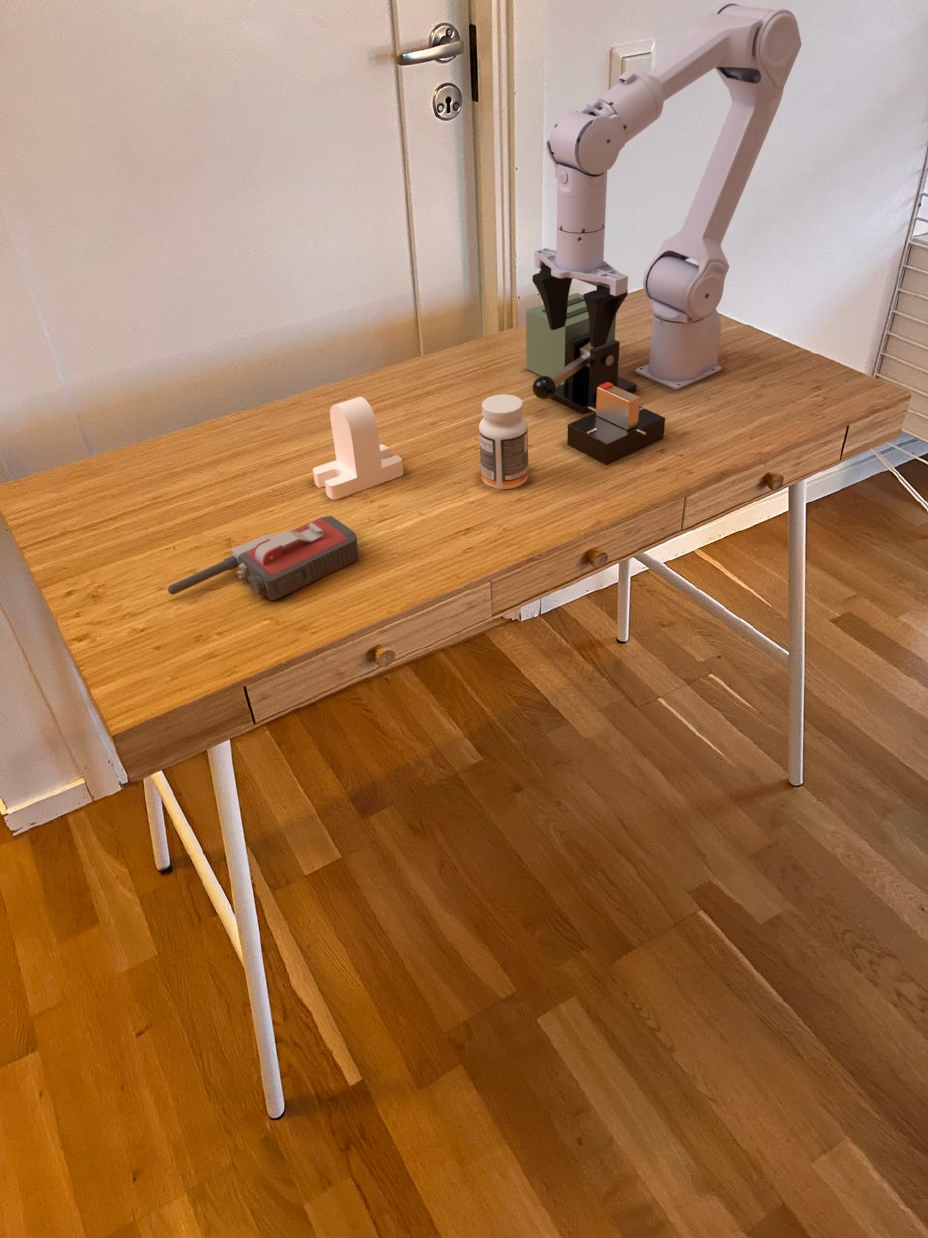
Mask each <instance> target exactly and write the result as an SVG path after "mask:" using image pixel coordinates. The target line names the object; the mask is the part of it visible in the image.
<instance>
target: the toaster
mask: <svg viewBox="0 0 928 1238" xmlns="http://www.w3.org/2000/svg"><path fill="white" fill-rule="evenodd" d="M525 314H526V315H525V316H526V317H525V320H526V321H525V322H526V325H525V328H526V329H525V330H526V333H525V335H526V341H525V342H526V370H528V371H529V372H531V373H533V374H534V375H537V376H538V377H540V376H549V377H551V376H552V375H554V374H555V373H557V372H558V371H560V370H561V369H562V368H564V367H565V366H567V365H568V364H569V340H571V339H574V338H576V337H579V336H582V335H584V334H587V333H589V332H590V328H589V315H588V310H587V306H586V303H585V300H584V298H583V294H582V293H579V292H575V293H572V294H569V296H568V305H567V318H566V323H565V326H564V327H561V328H559V329H556V330H551V329H550V326H549V322H548V318H547V314H546V310H545V307H544V304H541V305H538V306H535V307H532V308H530V309H527V310H526V311H525ZM616 323H617V314H616V315H615V317H614V320H613V323H612V325H611V328H610V331H609V335H608V338H607V341H606V343H607V342H610V341H612V340H616V325H617V324H616ZM565 383H568V378H567V379H566V380H564V381H563V382H561V383H560V384H558V385H557V386H560V385H563V384H565Z"/></svg>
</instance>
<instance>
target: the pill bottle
mask: <svg viewBox="0 0 928 1238" xmlns="http://www.w3.org/2000/svg"><path fill="white" fill-rule="evenodd" d="M481 414H482V416H483V418H481V420H480V422H479V425H478V436H479V439H478V440H479V460H480V475H481V480H482V482H483V483H484V484H485V485H486V486H488V487H490V488H492V489H497V490H510V489H516V488H519V487H520V486H522V485H524V484H525V483H526V482H527V480H528V479H529V427H528V422H527V420H526V419H525V417H524V416H523V414H524V402H523V400H522V399H521V398H520V397H519V396H516V395H513V394H508V393H507V394H503V393H502V394H495V395H492V396H488V397H487V398H485V399H484V400H483V401H482V404H481Z"/></svg>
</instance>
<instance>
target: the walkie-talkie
mask: <svg viewBox="0 0 928 1238" xmlns="http://www.w3.org/2000/svg"><path fill="white" fill-rule="evenodd" d="M230 554H231V555H230V556H228V557H225V558H224V559H223V561H221V562H219V563H215V564H213V565H212V566H209V567H207V568H205V569H203V570H201V571H199V572H196V573H194V574H192V575H190V576H188V577H185V578H182V579H181V580H179V581H177V582H175V583H172V584H170V585H168V587H167V591H168V593H169V594H170V595H173V596H174V595H176V594H178V593H181V592H182V591H185V590H188V589H189V588H191V587H195V586H196V585H198V584H200V583H203V582H205V581H207V580H210V579H211V578H213V577H216V576H218V575H220V574H222V573H224V572H226V571H229V572H230V571H233V570H234V569H236V568H238V570H237V571H236V575H237V577H238V579H245V580H246V581H248V583H249V586H250V588H251V590H252V591H253V593H254V594H255V595H258V596H260V595H262V594H263V595H264V596H265V597H267V598H268V599H269V600H270V601H273V600H274V601H275V600H278V599H279V598H282V597H284V596H286V595H288V594H290V593H292V592H294V591H296V590H299V589H301V588H302V587H304V586H307V585H308V584H310V583H313V582H315V581H316V580H318V579H320V578H322V577H325V576H326V575H329V574H331V573H333V572H335V571H337V570H339V569H341V568H343V567H345V566H347V565H349V564H351V563H353V562H355V561H357V560H358V559H359V556H360V552H359V545H358V537H357V534H356V533H355V531H354V530H352V529H351V528H349V527H348V526H347V525H345V524H344V523H343V522H341V521H339V519H337V518H335V517H334V516H332V515H326V516H321V517H319V518H317V519H315V520H312V521H310V522H308V523H306V524H304V525H302V526H299V527H298V528H295V529H292V530H286V531H283V532H281V533H280V534H279V533H277V534H274V533H273V534H264V535H261V536H259V537H257V538H255V539H252V540H250V541H247V542H245V543H244V544H240V545H239V546H235V547H232V548H231V549H230Z"/></svg>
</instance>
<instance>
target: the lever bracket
mask: <svg viewBox="0 0 928 1238" xmlns="http://www.w3.org/2000/svg"><path fill="white" fill-rule="evenodd" d="M589 342H590V332H589V333H587V334H584V335H582V336H579V337H576V338H574V339H571V340H569V364H570V363H571V362H573V361H574V360H576V359H577V358H579V357H580V356H581V354H580V348H582V347H583V346H585V345H586V344H588V343H589ZM620 344H621V342H620V341H619V340H616V339H615V340H612V341H610V342H607V343H606V344H604V345H601V346H599V347H596V348H592V349H590V367H588V366H585V367H583V368H582V369H580V370H579V371H577V372H576V373H574V374H573V375H572V376H570V377H569V378H568V383H565V384H563V385H557V386H556V389H555V392H554V394H553V395H552V396H551V397H550V398H549V399H550V400H551V401H554V402H556V403H558V404H560V405H561V406H564V407H566V408H567V409H570V410H573V411H575V412H576V413H578V414H581V415H582V416H583V415H586V414H589V413H591V412H594V411H593V410H591V409H589V408H588V407H590V406H591V407H593V408H595V409H596V402H597V387H599V385H602V384H604V383H606V382H609V383H611V384H613V386H615V387H618V388H620V389H622V390H625V391H627V392H629V393H631V394H635V393H637V389H638V385H637V384H636V383H634V382H632V381H629V380H627V379H625V378H623V377H620V376H619V363H620V362H619V359H620Z"/></svg>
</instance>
